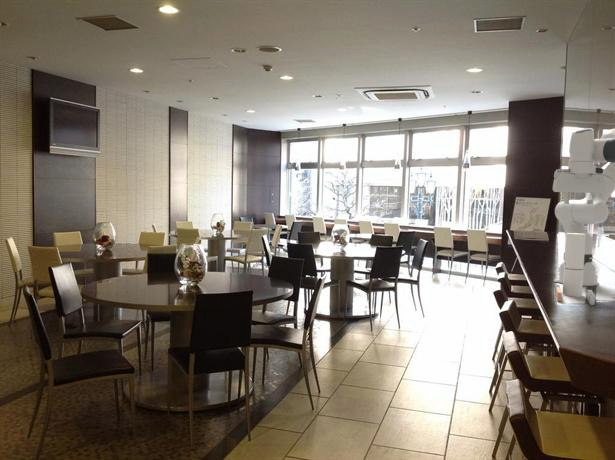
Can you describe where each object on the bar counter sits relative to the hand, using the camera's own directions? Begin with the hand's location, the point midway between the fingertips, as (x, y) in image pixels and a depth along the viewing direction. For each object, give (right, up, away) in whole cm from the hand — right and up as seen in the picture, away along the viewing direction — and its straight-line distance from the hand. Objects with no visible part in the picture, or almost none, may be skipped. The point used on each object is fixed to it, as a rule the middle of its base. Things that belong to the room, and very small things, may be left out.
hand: (578, 204), depth 216 cm
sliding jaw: (-10, -37, -4) cm, 38 cm away
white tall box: (-1, -37, +2) cm, 37 cm away
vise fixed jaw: (-1, -38, -12) cm, 40 cm away
